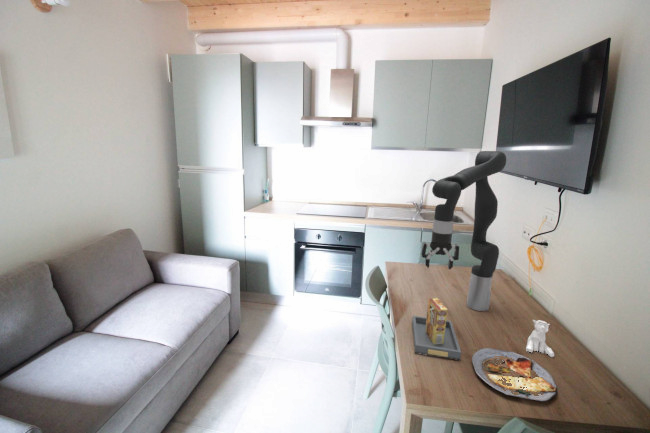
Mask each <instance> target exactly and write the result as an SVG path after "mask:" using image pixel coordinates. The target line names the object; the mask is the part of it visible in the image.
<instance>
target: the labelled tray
mask: <svg viewBox="0 0 650 433" xmlns="http://www.w3.org/2000/svg"><path fill="white" fill-rule="evenodd" d="M426 320H427V316H426V317H425V316H419V315H412V320H411V326H412V333H413V334H412V336H413V338H412V339H413V348H414V347H415V349H414V354H417V353H421V354H420V355H423V354H427V355H426V356H429V355H433V356H432V357H435V356H439V357H438V358H441V357H445V358H444V359H447V358H452V359H451V360H453V359H457V360H456V361H459V360H460V361H461V356H462V351H461V350H462V349H461V347H460V344H459V340H458V338H457V334H456V331H455V328H454V325H453V322H452V321H451V320H447V319H446V326H445V334H444V342H443V344H436V345H434V344H433V343H432V341H431V339H430V338H429V336H428V335H427V333H426V332H425V329H426Z"/></svg>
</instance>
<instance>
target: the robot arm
mask: <svg viewBox="0 0 650 433" xmlns="http://www.w3.org/2000/svg"><path fill="white" fill-rule="evenodd" d="M506 165H507V155H506V154H505V152H503V151H500V150H499V151H498V150H482V151H478V153H477V155H476V156H475V159H474V165H473V166H470V167H466V168H463V169H461V170H460V171H458V172H457V173H454V175H450V176H447V177H443V178H440V179H439V180H437V181H436V182H435V183H434V184H433V186H432V190H431V191H432V192H431V193H432V194H433V195H434V197H435V198H438V199H443V200H446V201H445V203H444V204H443V203H442V204H441V203H440V204H437V205H436V206H435V209H434V218H433V223H432V230H431V231H432V232H431V241H430V243H427V242H425V241H423V242H422V247H421V258H424V259H425V260H424V262H425V263H424V264H425V267H426V268H430V262H431V257H433V256H434V255H437V256H438V255H439V256H440V255H441V256H445V255H447V257H448V263H447V269H448V270H451V269H453V267H454V261H458V260H459V255H460V246H459V245H458V244H457V243H455V245H454V244H452V237H453V230H454V223H453V222H454V215H455V214H454V213H455V209H456V206H457V203H458V201H459V199H460V197H461V194H462V191H464V190H466V189H467V188H469V187H470V186H471V185H473V184H475V198H474V221H473V232H472V237H471V245H470V253H471V255H472V256H473V258H475V259H477V260H480V261H481V262H480V264H477V265H476V264H475V265H473V266H472V267H471V271H470V279H469V284H468V291H467V298H466V307H468V308H470V309H472V310H475V311H478V312H485V311H489V309H490V302H491V296H492V291H491V289H492V288H491V287H492V282H493V281H492V280H493V276H494V273H495V272H496V268H497V265H498V260H499V256H500V249H499V246H498V245H497V244H494V243H492V242H488V241H487V233H488V229H489V228H490V226H491V225H492V224H493V222H494V221H495V219H496V218H497V216H498V199H497V196H496V194H495V193H494V191H493V189H492V187H491V185H490V183H489V179H488V177H490V176H492V175H495V174H498V173H500V172H501V171H503V170H504V169H505V166H506ZM429 248H430V250H428V252H427V249H429ZM451 250H453V251H454V252H453V253H454V254H453V255H452V254H451V253H450V251H451ZM426 252H427V253H426Z"/></svg>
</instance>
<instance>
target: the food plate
mask: <svg viewBox="0 0 650 433" xmlns="http://www.w3.org/2000/svg"><path fill="white" fill-rule="evenodd" d="M494 356H504V357H509V358H512V359H514V361H512V360H510V359H504V361H505V363H506V365H507V366H508V367H509V368H508V367H506V366H501V365H497V364H496V363H495V364H494V363H491V362H487V365H486V366H487V369H486V370H490V371H493V372H492V373H494V372H502V373H510V370H509V369H511V370H513V371H515V372H516V373H518V374H520V375H525V376H527V377H528V378H523V377H519V378H518V377H512V376H503V375H501V374H499V375H498V374H492V373H491V374H490V373H486V374H487V375H488V376H489V378H490V380H491V381H492V382H493V383H494V385H493V384H492V383H490V381H489V380H488V379H487V376H486V375H485V373H484V371H483V370H484V369H485V368H484V369H483V362H484V361H486V360H487V359H490V358H495V357H494ZM497 358H499V357H497ZM504 361H503V362H504ZM471 362H472V366H473V368H474V371H475V374H476V375H477V376H479V378H480V379H481V380H483V381H484V382H485V383H486V384H488V385H489V386H491V387H492V388H493V389H494V390H497V391H498V392H501V393H503V394H504V395H507V396H512V397H516V398H522V399H526V400H527V399H528V400H533V401H534V400H535V401H539V402H548V401H550V400H551V399H553V397H555V396H556V395H557V394H558V393H557V390H558V385H557V383H556V381H555V379H554V377H553V375H552V374H551V373H550V372H549V371H548V370H547V369H546V368H544V367H543V366H542V365H540V364H539V363H538V362H536V361H535V360H533V359H532V358H529V357H526V356H525V355H522V354H518V353H516V352H514V351H509V350H502V349H497V348H489V347H487V348H486V347H485V348H480V349H479V350H477V351H475V353H474V354H473V355H472V358H471ZM531 370H533V371H535V372H536V374H537V375H538V376H539V377H535V378H533V379H530V378H531V377H530V376H531ZM490 371H489V372H490ZM502 377H503V378H505V379H506V380H507V381H506V383H511V384H512V386H507V385H503V384H502V381H498V380H499V379H500V380H501V379H502ZM509 379H511V380H509ZM502 380H503V379H502ZM518 380H519V382H518ZM503 381H504V380H503ZM509 381H510V382H509ZM520 387H522V388H520ZM523 387H525V388H524V389H523ZM526 387H527V388H526ZM502 388H503V389H505V390H506V389H515V390H516V391H514V392H519V395H514V394H512V393H511V391H510V390H506V391H504V390H503V389H502ZM517 389H518V390H517ZM521 389H523V390H521ZM524 390H526V391H528V392H526V391H524ZM529 391H531V392H535V393H537V392H538V393H544V394H543V395H541V394H538V395H539V396H534V395H533V394H532V395H531V394H530V392H529ZM514 392H513V393H514ZM526 396H528V397H526Z"/></svg>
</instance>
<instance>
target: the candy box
mask: <svg viewBox="0 0 650 433" xmlns="http://www.w3.org/2000/svg"><path fill="white" fill-rule="evenodd" d="M447 316H448V308H447V307H446V306H445V305H444V303H443V302H442V301H441V300H440V299H439V298H428V304H427V312H426V318H427V320H426V329H425V332H426V333H427V335H428V336H429V338H430V339H431V341H432V343H433V344H434V345H436V344H443V342H444V334H445V326H446V320H447V318H448V317H447Z"/></svg>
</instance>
